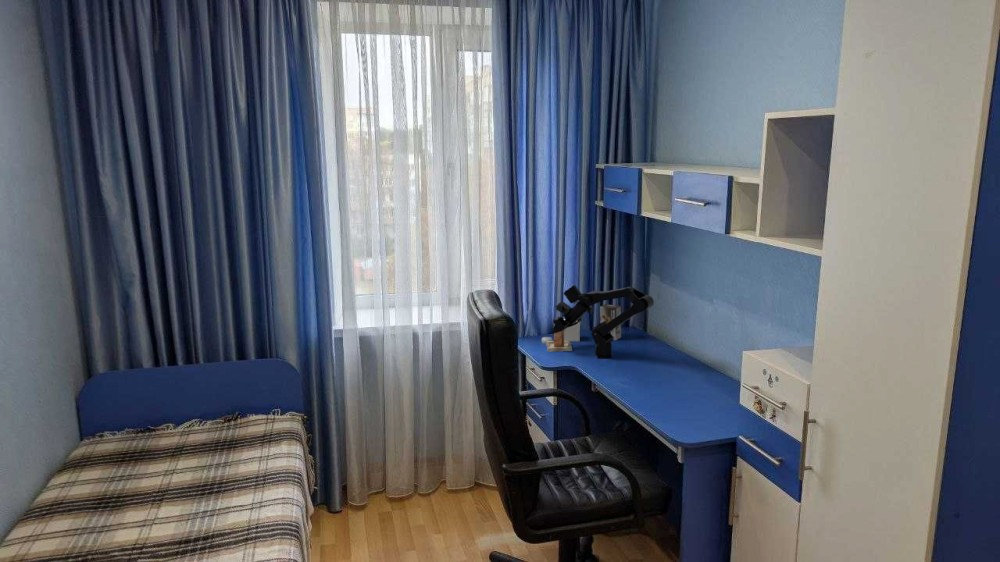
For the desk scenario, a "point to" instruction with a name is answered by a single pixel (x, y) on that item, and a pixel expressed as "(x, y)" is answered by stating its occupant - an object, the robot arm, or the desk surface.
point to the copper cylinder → (559, 339)
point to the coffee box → (611, 317)
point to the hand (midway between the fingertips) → (556, 330)
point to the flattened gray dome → (546, 339)
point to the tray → (558, 349)
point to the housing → (572, 333)
